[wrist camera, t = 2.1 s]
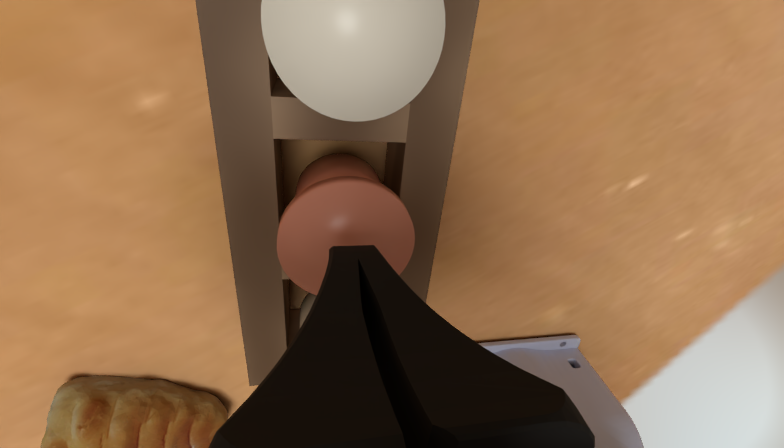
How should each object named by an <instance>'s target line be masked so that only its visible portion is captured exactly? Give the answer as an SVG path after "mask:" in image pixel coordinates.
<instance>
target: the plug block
mask: <svg viewBox="0 0 784 448" xmlns="http://www.w3.org/2000/svg"><path fill="white" fill-rule="evenodd" d="M261 2H262V0H196V7H197V15H198V22H199V29H200V36H201V43H202V50H203V57H204V64H205V71H206V79H207V86H208V93H209V100H210V107H211V114H212V121H213V128H214V135H215V143H216V150H217V157H218V164H219V171H220V178H221V185H222V192H223V199H224V207H225V214H226V221H227V228H228V235H229V242H230V249H231V256H232V263H233V271H234V278H235V285H236V292H237V299H238V306H239V313H240V320H241V327H242V335H243V342H244V349H245V356H246V363H247V370H248V377H249V384H250V386H254V385H260V383H261V382H262V381H263V380H264V379H265V377H266V376H267V375H268V374H269V372H270V371H271V370H272V369H273V367H274V366H275V365H276V364H277V362H278V361H279V359H280V358H281V357H282V355H283V354H284V352H285V351H286V349H287V348H288V346H289V345H290V343H291V342H292V340H293V339H294V337H295V336H296V334H297V333H298V331H299V329H300V309H290V306H289V287H288V279H290V278H289V277H288V276H287V274H286V273H285V272H284V270H283V268H282V266H281V264H280V261H279V258H278V254H277V235H278V228H279V223H280V220H281V217H282V215H283V213H284V194H283V175H282V156H281V139H301V140H335V141H368V142H388V143H387V154H386V165H385V176H384V185H385V186H386V187H388V188H389V189H391V190H392V191H393V192H394V193H395V194H396V195H397V196H398V197H399V198H400V199H401V201H402V202H403V204H404V205H405V207H406V209H407V211H408V213H409V216H410V218H411V220H412V223H413V227H414V232H415V244H414V249H413V253H412V256H411V258H410V260H409V262H408V264H407V266H406V267H405V269H404V270H403V272H402V273H401V274H400V275H399V276H400V277H401V278H402V279H403V280H404V281H405V283H406V284H407V285H408V286H409V287H410V288H411V289H412V290H413V291H414V292H415V293H416V294H417V295H418V296H419V297H420V298H421V299H422V300H423V301H424V302H425V303H426V298H427V293H428V287H429V281H430V276H431V270H432V265H433V259H434V253H435V248H436V242H437V236H438V231H439V225H440V219H441V214H442V208H443V203H444V197H445V191H446V186H447V180H448V174H449V169H450V163H451V158H452V152H453V146H454V141H455V135H456V129H457V124H458V118H459V113H460V107H461V101H462V96H463V90H464V84H465V79H466V73H467V67H468V62H469V56H470V51H471V45H472V39H473V34H474V28H475V22H476V17H477V11H478V6H479V0H444V8H445V36H444V42H443V47H442V51H441V55H440V58H439V61H438V63H437V66H436V68H435V70H434V72H433V74H432V76H431V77H430V79H429V81H428V82H427V84H426V85H425V86H424V88H423V89H422V90H421V92H420V93H419V94H418V95H417V96H416V97H415V98H414V99H413V100H412V101H410V102H409V103H408V104H407V105H405V106H404V107H403V108H401V109H399V110H398V111H396V112H394V113H392V114H390V115H387V116H385V117H382V118H379V119H375V120H369V121H357V122H353V121H343V120H339V119H335V118H331V117H328V116H326V115H323V114H321V113H319V112H317V111H315V110H313V109H311V108H310V107H309V106H307V105H306V104H304V103H303V102H302V101H300V100H299V99H298V98H297V97H296V96H295V95H294V94H293V93H292V92H291V91H290V90H289V89H288V88H287V86H286V85H285V84H284V83H283V81H282V80H281V78H277V72H276V70H275V68H274V66H273V64H272V62H271V60H270V57H269V55H268V52H267V50H266V46H265V42H264V38H263V33H262V25H261Z"/></svg>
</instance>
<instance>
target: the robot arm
mask: <svg viewBox="0 0 784 448" xmlns="http://www.w3.org/2000/svg"><path fill="white" fill-rule="evenodd" d="M580 341H581V340H580V338H579V337H578V336H577V335H567V336H555V337H544V338H532V339H521V340H509V341H498V342H486V343H476V342H475V341H473V340H472V339H470V338H469V337H467V336H466V335H465V334H463V333H462V332H460V331H459V330H458V329H456V328H455V327H453V326H452V325H451V324H450V323H448V322H447V321H446V320H445V319H443V318H442V317H441V316H440V315H438V314H437V313H436V312H435V311H434V310H432V309H431V308H430V307H429V306H428V305H427V304H426V303H425V302H424V301H423V300H422V299H421V298H420V297H419V296H418V295H417V294H416V293H415V292H414V291H413V290H412V289H411V288H410V287H409V286H408V285H407V284H406V283H405V281H404V280H403V279H402V278H401V277H400V276H399V275H398V274H397V273H396V271H395V270H394V269H393V268H392V267H391V265H390V264H389V263H388V262H387V260H386V259H385V258H384V257H383V255H382V254H381V253H380V251H379V250H378V249H377V248H376V247H375V246H374V245H354V246H332V247H331V248H330V249H329V260H328V265H327V269H326V272H325V275H324V278H323V281H322V284H321V286H320V289H319V292H318V294H317V296H316V298H315V300H314V303H313V305H312V307H311V309H310V311H309V313H308V315H307V317H306V319H305V321H304V322H303V324H302V326H301V328H300V329H299V331H298V333H297V334H296V336H295V337H294V339H293V340H292V342H291V343H290V345H289V346H288V348H287V349H286V351H285V352H284V354H283V355H282V357H281V358H280V359H279V361H278V362H277V364H276V365H275V366H274V367H273V369H272V370H271V371H270V372H269V374H268V375H267V376H266V377H265V379H264V380H263V381H262V382H261V383H260V385H259V386H258V387H257V388H256V390H255V391H254V392H253V393H252V394H251V395H250V397H249V398H248V399H247V400H246V401H245V402H244V403H243V404H242V405H241V406H240V407H239V408H238V409H237V410H236V411H235V412H234V414H233V415H232V416H231V417H230V418H229V419H228V420H227V421H226V422H225V423H224V424H223V425H222V426H221V427H220V428H219V429H218V430H217V431H216V433H215V435H214V437H213V439H212V441H211V443H210V445H209V448H644V447H643V443H642V440H641V438H640V435H639V433H638V430H637V428H636V426H635V424H634V423H633V421H632V419H631V418H630V416H629V415H628V413H627V412H626V410H625V409H624V408H623V406H622V405H621V404H620V403H619V401H618V400H617V399H616V397H615V396H614V395H613V393H612V392H611V391H610V390H609V388H608V387H607V386H606V384H605V383H604V382H603V380H602V379H601V378H600V377H599V375H598V374H597V373H596V371H595V370H594V369H593V368H592V366H591V365H590V364H589V362H588V361H587V360H586V358H585V357H584V356H583V355H582V353H581V352H580V351H579V349H578V346H579V344H580Z"/></svg>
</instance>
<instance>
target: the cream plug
mask: <svg viewBox="0 0 784 448" xmlns="http://www.w3.org/2000/svg"><path fill="white" fill-rule="evenodd" d="M261 25H262V33H263V38H264V42H265V46H266V50H267V52H268V55H269V57H270V60H271V62H272V64H273V66H274V68H275V70H276V72H277V74H278V75H279V77H280V78H281V80H282V81H283V83H284V84H285V85H286V86H287V88H288V89H289V90H290V91H291V92H292V93H293V94H294V95H295V96H296V97H297V98H298V99H299V100H300V101H302V102H303V103H304V104H306V105H307V106H309V107H310V108H311V109H313V110H315V111H317V112H319V113H321V114H323V115H326V116H328V117H331V118H335V119H339V120H343V121H353V122H357V121H369V120H375V119H379V118H382V117H385V116H387V115H390V114H392V113H394V112H396V111H398V110H399V109H401V108H403V107H404V106H405V105H407V104H408V103H409V102H410V101H412V100H413V99H414V98H415V97H416V96H417V95H418V94H419V93H420V92H421V90H422V89H423V88H424V86H425V85H426V84H427V82H428V81H429V79H430V77H431V76H432V74H433V72H434V70H435V68H436V66H437V63H438V61H439V58H440V55H441V51H442V47H443V42H444V36H445V8H444V0H262V2H261Z"/></svg>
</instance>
